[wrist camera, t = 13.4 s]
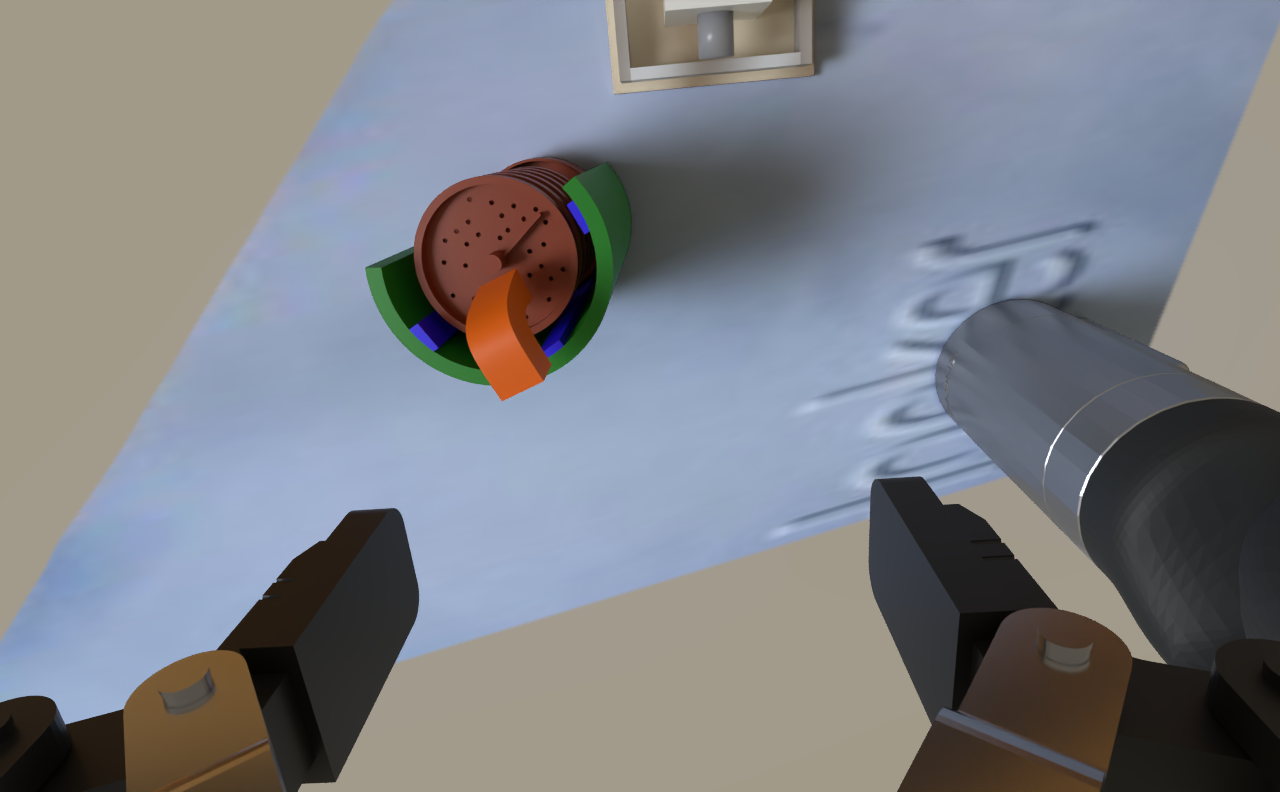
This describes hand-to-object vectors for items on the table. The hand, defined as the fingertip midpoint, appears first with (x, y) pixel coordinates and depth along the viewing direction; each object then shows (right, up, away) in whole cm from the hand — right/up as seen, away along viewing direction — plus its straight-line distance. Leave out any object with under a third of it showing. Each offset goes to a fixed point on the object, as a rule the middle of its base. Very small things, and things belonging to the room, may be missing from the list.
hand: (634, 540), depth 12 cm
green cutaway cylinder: (-5, +13, +32) cm, 35 cm away
